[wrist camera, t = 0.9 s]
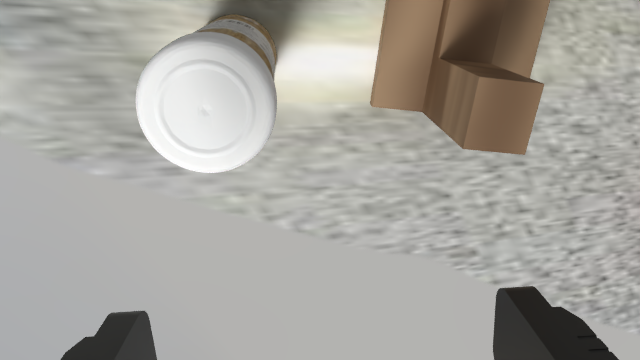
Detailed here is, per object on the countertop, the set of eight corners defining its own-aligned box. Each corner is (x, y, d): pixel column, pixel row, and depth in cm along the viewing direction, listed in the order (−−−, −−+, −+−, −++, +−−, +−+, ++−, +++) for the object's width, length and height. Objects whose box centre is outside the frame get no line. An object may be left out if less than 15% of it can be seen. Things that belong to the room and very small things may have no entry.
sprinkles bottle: (188, 80, 29) (118, 153, 16) (208, 1, 28) (149, 15, 15) (264, 105, 30) (253, 192, 17) (288, 29, 28) (295, 65, 16)
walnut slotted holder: (370, 103, 30) (399, 142, 23) (409, -148, 26) (461, -201, 18) (512, 118, 31) (584, 160, 24) (574, -122, 27) (688, -162, 19)
